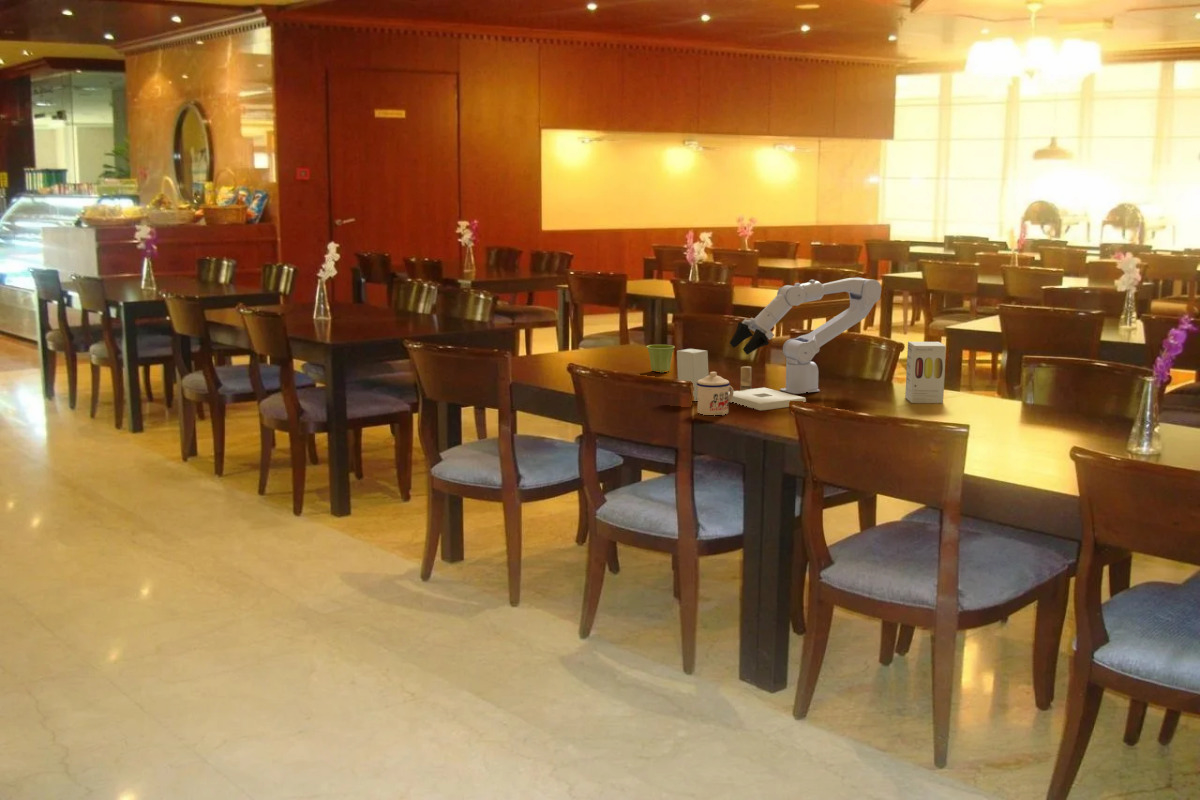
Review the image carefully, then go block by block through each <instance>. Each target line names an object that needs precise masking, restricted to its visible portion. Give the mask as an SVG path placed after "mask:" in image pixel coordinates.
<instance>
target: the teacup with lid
mask: <svg viewBox="0 0 1200 800" xmlns="http://www.w3.org/2000/svg"><path fill="white" fill-rule="evenodd" d="M717 374H718V372H717V371H710V372H709V376H706V377H705V378H703V379H700V380H698V381H697V385H698V402H697V414H698V413H700V414H703V415H702V416H704V415H714V416H713V417H716V416H715V415H722V416H726V415H728V414H729V403H731V402H730V401H731V399H732V397H733V394H734V391H735V390H734V388H733V387H732V386H731V385H730V381H729V380H728V379H725V378H723V377H722V376H720V375H717ZM729 392H730V394H729ZM700 414H699V415H700ZM725 414H726V415H725Z"/></svg>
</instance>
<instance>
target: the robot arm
mask: <svg viewBox="0 0 1200 800" xmlns="http://www.w3.org/2000/svg"><path fill="white" fill-rule="evenodd" d="M843 292H845V293H848V295H849V307H848V308H846V309H845V310H844V311H842V312H840V313H839V314H837V315H836V316H834V317H832V318H831V319H829V320H828V321H826V322H825V323H823V324H821V325H819V326H818V327H817V328H815V329H814V330H812V331H811V332H809V333H806V334H802V335H799V336H798V337H795V338H790V339H788V340H786V341H785V342H784V343H783V346H782V354H783V356H784V357H785V358H786V359H785V360H786V363H785V387H784V388H783V387H782V388H779V391H780V392H784V393H788V394H792V395H798V394H799V395H800V394H807V393H806V392H808V393H816V392H820V391H821V390H820V389H819V367H818V365H817V364H816V362H814V361H812V360H813V359H814V357H815V356H816V354H818V353H819V352H820V348H821V347H823V346H824V345H825V344H827V343H828V342H830V341H832V340H833V339H834V338H836V337H837V336H840V335H841V334H842V333H844V332H845V331H847V330H848V329H850V328H851V327H853V326H855V325H857V324H858V323H859V322H861V321H863V320H864V319H865V318H867V316H868V315H869V313H870V312H871V310H872V308H873V307H874V305H875V304H876V303H878V302H879V300H881V294H882V285H881V283H880V281H878V280H877V279H868V278H863V277H859V276H858V277H849V278H847V277H846V278H843V279H838V280H834V281H829V282H825V283H821V282H820V281H818V280H815V279H810V280H808V282H803V283H800V282H796V283H794V285H789V284H787V285H784V286H782V287H779V288H778V290H777V293H776V296H775V297H774V298H773V299H772V300H771V301H770V302H769V303H768V304H767V305H766V306H765V307H764V308H763V309H762V310H761V311H760V312H759V313H758V315H756V316H755V318H753V317H750V318H749V319H746V318H744V319H743V320H742V322H741V321H739V322H737V327H736V330H735V332H734V334H733V336H732V338H731V340H730V341H729V344H730V345H731V347H732V348H736V347H738V346H739V345H740V344H741V343H742V342H744V341H745V340H746V339H748V338H750V337H751V338H750V339H749V341H748V342H747V343H746V344H745V346H744V347H743V348H742V350H743V351H744V354H746V355H750V354H751V353H752V352H754V351H756V350H758V349H759V348H762V347H765V346H768V345H769V344H770V342H769V340H770V341H771V339H772V338H773V337H775V334H774V333H773V331H772V329H773V328H774V326H776V324H778V322H780V320H781V319H782V318H783V317H785V315H786V314H787V313H788V312H789V311H790V310H791V309H793V306H796V307H798V306H800V305H801V304H804V303H807V302H808V303H809V302H813V301H819V300H822V298H823V297H824V295H829V294H830V295H831V294H837V293H843ZM751 331H753V332H754V333H752V332H751Z"/></svg>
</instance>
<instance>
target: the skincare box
mask: <svg viewBox="0 0 1200 800" xmlns="http://www.w3.org/2000/svg"><path fill="white" fill-rule="evenodd" d="M676 363H677V364H676V365H677V366H676V367H677V368H676V369H677V381H678V380H685V381H691V382H692V383H693V387H694V391H693V396H694V401H698V385H697V381H698V380H700V379H703V378H705V377H706V376H709V375H710V373H709V355H708V350H704V349H695V348H686V349H680V350H676Z"/></svg>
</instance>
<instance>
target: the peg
mask: <svg viewBox="0 0 1200 800" xmlns="http://www.w3.org/2000/svg"><path fill="white" fill-rule="evenodd" d="M739 387H740V390H747V389H752V366H748V365H747V366H740V386H739Z"/></svg>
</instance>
